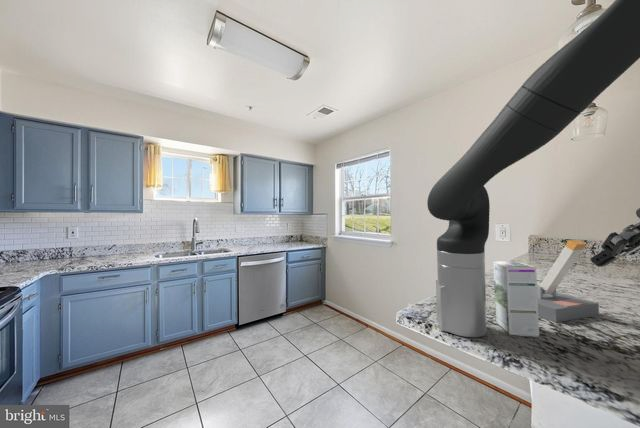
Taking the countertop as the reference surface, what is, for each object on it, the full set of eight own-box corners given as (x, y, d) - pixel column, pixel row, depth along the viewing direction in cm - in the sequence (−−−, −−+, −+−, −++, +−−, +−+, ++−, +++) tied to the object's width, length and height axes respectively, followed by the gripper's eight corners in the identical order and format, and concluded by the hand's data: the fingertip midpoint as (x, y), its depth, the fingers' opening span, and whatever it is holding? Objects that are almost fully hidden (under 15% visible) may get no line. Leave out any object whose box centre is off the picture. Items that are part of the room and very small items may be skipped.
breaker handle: (535, 290, 64) (568, 240, 57) (545, 289, 65) (578, 239, 58) (542, 295, 62) (577, 244, 55) (552, 294, 63) (587, 243, 56)
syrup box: (540, 337, 49) (538, 266, 49) (508, 335, 50) (506, 265, 50) (523, 324, 54) (521, 261, 54) (493, 323, 55) (492, 260, 55)
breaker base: (498, 301, 69) (497, 280, 69) (535, 296, 72) (535, 276, 72) (555, 322, 55) (555, 296, 55) (598, 315, 58) (598, 290, 58)
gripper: (693, 222, 37) (591, 280, 49) (741, 220, 40) (634, 275, 52) (640, 192, 43) (559, 251, 54) (686, 192, 46) (600, 248, 57)
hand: (596, 263), depth 53 cm, fingers closed
